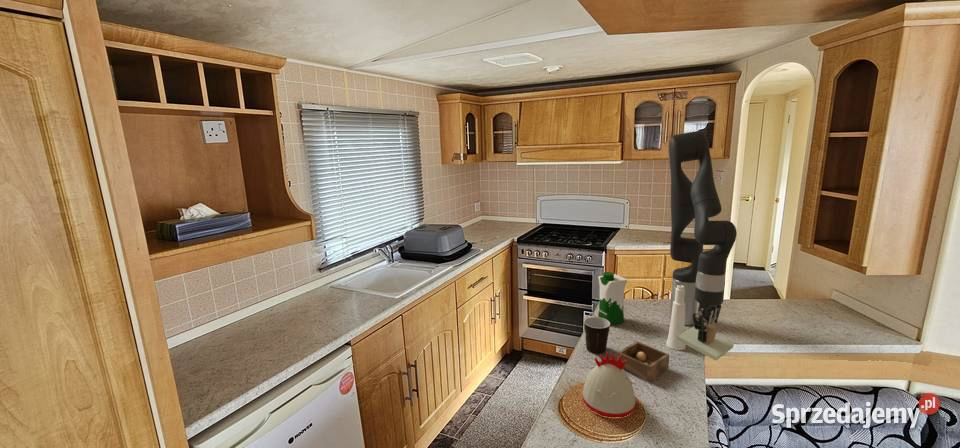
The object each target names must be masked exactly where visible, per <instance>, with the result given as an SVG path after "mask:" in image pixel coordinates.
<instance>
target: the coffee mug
mask: <svg viewBox="0 0 960 448" xmlns="http://www.w3.org/2000/svg"><path fill="white" fill-rule="evenodd" d="M583 327H584V336H585V337H584V338H585V346H586V347H585V348H586V350H587V352H589V353H591V354H595V355H601V354H602V355H603V354H604V353H605V352H607V347H608V346H607V344H608V338H609V333H610V329H611V328H610V327H611V325H610V322H609V321H608V320H606V319H604V318H600V317H598V316H589V317H586V318H585V319H584V320H583Z"/></svg>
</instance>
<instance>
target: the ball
mask: <svg viewBox="0 0 960 448" xmlns="http://www.w3.org/2000/svg"><path fill="white" fill-rule="evenodd" d="M636 358H637V359H638V360H639V361H645V360H646V355H645V353H643V352H638V353H637V354H636Z"/></svg>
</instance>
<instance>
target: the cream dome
mask: <svg viewBox="0 0 960 448" xmlns="http://www.w3.org/2000/svg"><path fill="white" fill-rule="evenodd" d="M615 356H616V355H615V353H614V352H612V355H611V358H610V354H609V351H607V350H606V355H605V358H604V355H603V353H602V354H600V356H599V357H600V361H599V360H598V358H597V357H596V356H595V357H594V361H595V364H596V365H595V366H594V367H593V368H592V369H591V370H590V372H589V373H588V375H587V378H586V380H585V382H584V385H583V388H582V394H581V395H582V397H583V399H582V402H583V401H584V403H585V404H586V405H587V407H589V408H590V409H591V410H592V411H594V412H596V413H598V414H600V415H602V416H607V417H624V416H627V415H629V414H631V413H632V412H633V411H634V412H635V410H636V395H635V391H634V387H633V382H632V381H631V379H630V377H629V375H628V372H626V371H624V370H623V369H622V368H623V367H624V366H625V364H626V362H627V359H626V360H625V361H624V362H621V354H620V356H619V358H618V360H617V359H616V357H615ZM584 403H583V404H584ZM587 407H586V408H587ZM634 409H635V410H634ZM634 412H633V413H634ZM631 415H632V414H631Z"/></svg>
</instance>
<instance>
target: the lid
mask: <svg viewBox="0 0 960 448" xmlns="http://www.w3.org/2000/svg"><path fill="white" fill-rule="evenodd" d="M704 326H705V324H704ZM718 330H719V327H718V326H716V325H715V324H714V325H712V324H708V329H707V338H706V342H701V341H699V340H698V330H697V329H695V327H694V326H692V327H691V328H689V329H687V330H686V331H685V332H684V333H682V334H681V335H679V336H678V338H677V340H679V341H681V342H682V343H684V344H685V346H687V347H690V348H691V349H693V350H695V351H697V352H699V353H701V354H703V355H704V356H706V357H708V358H710V359H712V360H713V361H715V362H716V361H718V360H719V359H720V358H721V357H723V356H724V355H725V354H727V353H728V352H729V351H730V350H732V349H734V345H735V344H734V343H732V342H730V341H728V340H726V339H725V338H722V337H720V336H718V335H717V331H718Z"/></svg>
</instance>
